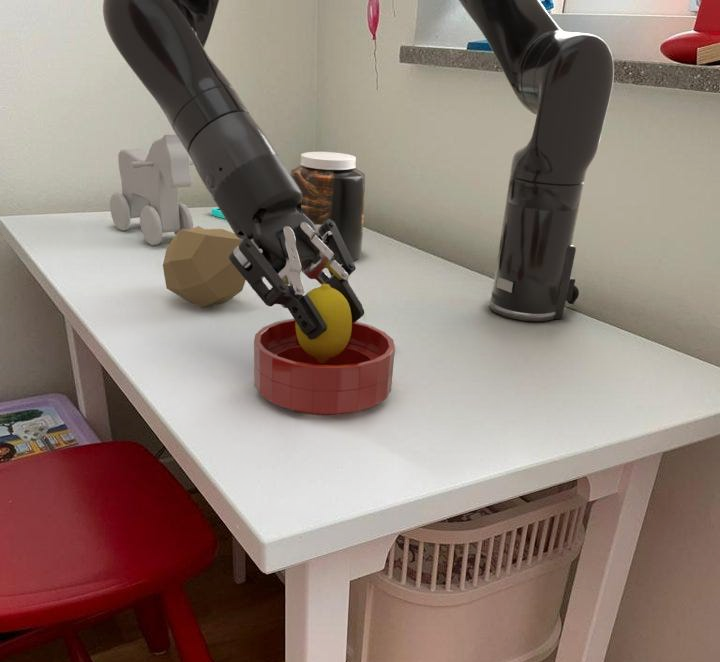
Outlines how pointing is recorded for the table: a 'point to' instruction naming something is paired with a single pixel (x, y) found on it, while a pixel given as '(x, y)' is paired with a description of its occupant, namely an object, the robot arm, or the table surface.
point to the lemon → (328, 324)
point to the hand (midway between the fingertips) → (338, 326)
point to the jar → (333, 195)
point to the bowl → (323, 371)
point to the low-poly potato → (203, 266)
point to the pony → (153, 189)
